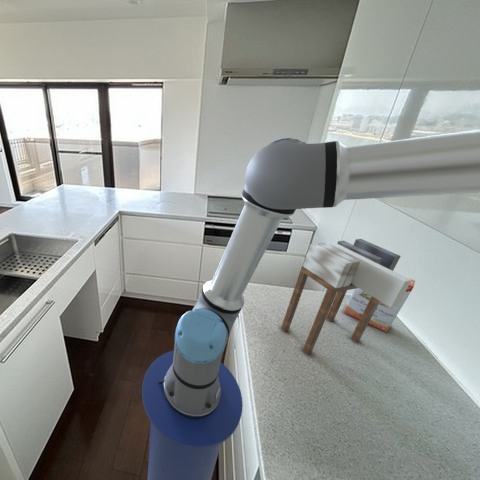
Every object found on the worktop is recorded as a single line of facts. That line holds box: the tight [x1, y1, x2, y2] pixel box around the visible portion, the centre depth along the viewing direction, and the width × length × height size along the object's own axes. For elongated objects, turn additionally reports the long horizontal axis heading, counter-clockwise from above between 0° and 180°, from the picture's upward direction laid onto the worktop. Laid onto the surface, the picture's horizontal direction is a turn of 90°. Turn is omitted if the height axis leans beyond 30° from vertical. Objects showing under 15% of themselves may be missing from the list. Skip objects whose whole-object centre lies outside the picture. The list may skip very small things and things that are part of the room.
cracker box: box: [343, 277, 416, 333], centre depth 95 cm, size 14×6×21 cm, turn 42°
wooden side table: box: [280, 238, 402, 355], centre depth 83 cm, size 12×23×34 cm, turn 107°
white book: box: [326, 241, 413, 308], centre depth 73 cm, size 22×2×8 cm, turn 17°
